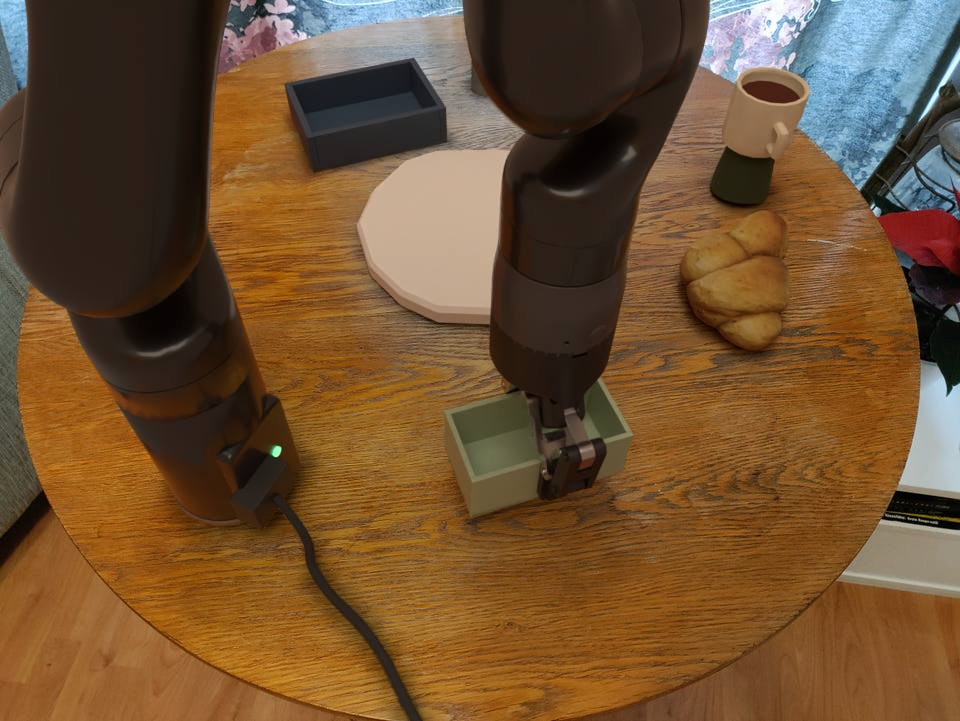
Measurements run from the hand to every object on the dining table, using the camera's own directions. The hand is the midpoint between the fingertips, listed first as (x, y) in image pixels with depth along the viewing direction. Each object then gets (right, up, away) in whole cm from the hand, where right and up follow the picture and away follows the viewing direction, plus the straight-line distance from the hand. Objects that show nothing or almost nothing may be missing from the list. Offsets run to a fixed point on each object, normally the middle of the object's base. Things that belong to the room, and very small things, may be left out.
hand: (534, 455), depth 57 cm
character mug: (+24, +26, +27) cm, 45 cm away
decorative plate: (-4, +20, +22) cm, 30 cm away
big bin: (-18, +35, +34) cm, 52 cm away
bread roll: (+20, +12, +16) cm, 28 cm away
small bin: (0, 0, +1) cm, 1 cm away
